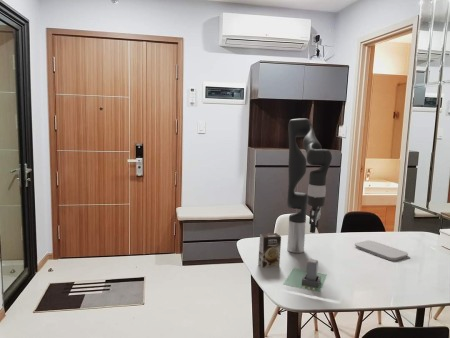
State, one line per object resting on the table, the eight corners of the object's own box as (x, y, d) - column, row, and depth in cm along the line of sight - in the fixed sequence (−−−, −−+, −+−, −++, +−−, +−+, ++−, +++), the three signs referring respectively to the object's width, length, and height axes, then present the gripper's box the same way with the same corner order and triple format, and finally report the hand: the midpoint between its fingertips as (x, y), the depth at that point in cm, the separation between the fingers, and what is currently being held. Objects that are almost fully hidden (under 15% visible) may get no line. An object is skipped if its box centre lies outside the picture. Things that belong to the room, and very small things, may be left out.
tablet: (369, 243, 222) (369, 239, 221) (410, 257, 200) (410, 253, 200) (352, 247, 213) (352, 243, 213) (392, 262, 191) (393, 258, 191)
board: (293, 270, 176) (293, 263, 176) (326, 276, 170) (327, 269, 169) (282, 286, 158) (283, 278, 157) (320, 294, 152) (320, 286, 151)
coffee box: (262, 269, 176) (264, 237, 173) (257, 264, 182) (259, 233, 180) (279, 268, 178) (281, 236, 176) (274, 263, 184) (276, 232, 182)
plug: (307, 280, 162) (309, 258, 161) (316, 282, 161) (318, 259, 160) (305, 283, 159) (307, 261, 158) (314, 285, 157) (316, 262, 156)
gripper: (310, 190, 167) (308, 224, 169) (304, 196, 154) (302, 233, 156) (327, 192, 164) (325, 226, 166) (322, 198, 151) (320, 236, 153)
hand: (314, 229), depth 161 cm, fingers open, 8 cm apart
